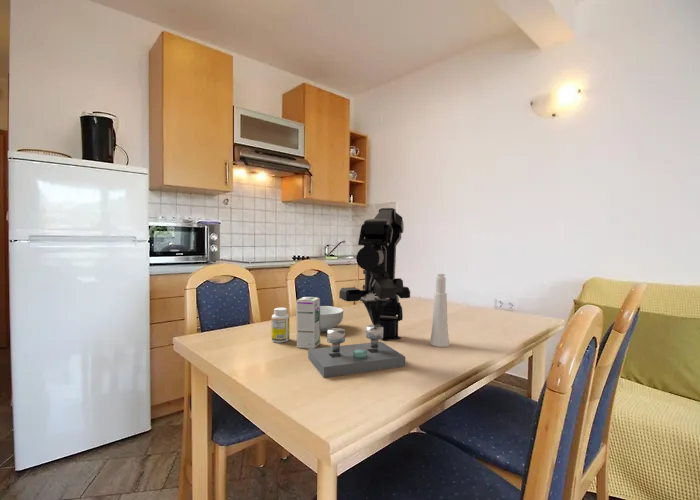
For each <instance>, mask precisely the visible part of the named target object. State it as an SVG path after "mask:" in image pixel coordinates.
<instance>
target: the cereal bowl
mask: <svg viewBox="0 0 700 500" xmlns="http://www.w3.org/2000/svg"><path fill="white" fill-rule="evenodd" d="M295 315H296V318H297V309H296V310H295ZM343 318H344V309H343V308H342V307H341V308H340V307H337V306H331V305H320V333H321V332H327V330H328V329H330V328H336V327H337V326H338V325H340V324H341V323H342V321H343Z"/></svg>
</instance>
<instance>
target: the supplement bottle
mask: <svg viewBox="0 0 700 500" xmlns="http://www.w3.org/2000/svg"><path fill="white" fill-rule="evenodd" d="M289 340H290V315H289V313H288V308H286V307H276V308H274V309H273V314H272V315H271V341H272V342H273V343H275V344H276V343H278V344H279V343H280V344H281V343H286V342H288V341H289Z"/></svg>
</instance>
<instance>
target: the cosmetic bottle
mask: <svg viewBox="0 0 700 500" xmlns="http://www.w3.org/2000/svg"><path fill="white" fill-rule="evenodd" d="M445 276H446V274H445V273H437V276H436V280H435V282H436V283H435V292H434V298H433V313H432V324H431V326H432V327H431V333H430V341H429V344H430V345H431V346H432V347H437V348H445V347H449V346H450V345H451V344H450V339H449V338H450V337H449V328H448V325H449V324H448V296H447V295H448V293H446V282H447V281H446V277H445Z"/></svg>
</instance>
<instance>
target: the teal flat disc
mask: <svg viewBox="0 0 700 500" xmlns="http://www.w3.org/2000/svg"><path fill="white" fill-rule="evenodd" d="M353 357H354V358H357V359H364V358H367V351H365V350H354V351H353Z"/></svg>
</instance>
